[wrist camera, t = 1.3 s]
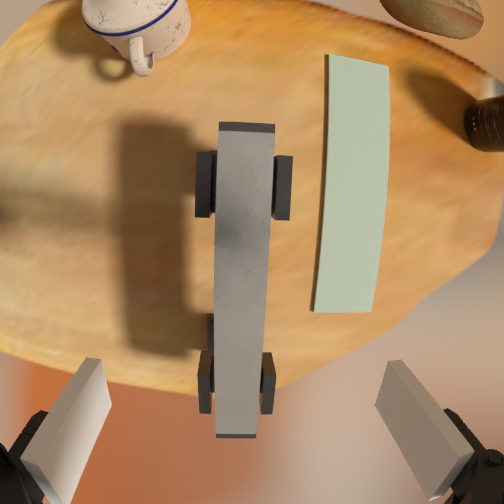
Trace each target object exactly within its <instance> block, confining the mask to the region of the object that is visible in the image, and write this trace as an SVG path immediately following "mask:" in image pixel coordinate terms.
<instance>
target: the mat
mask: <svg viewBox="0 0 504 504" xmlns="http://www.w3.org/2000/svg"><path fill="white" fill-rule="evenodd" d="M389 146H390V82H389V67H388V66H384V65H380V64H376V63H372V62H368V61H363V60H358V59H354V58H349V57H343V56H338V55H332V54H329V55H328V126H327V152H326V173H325V190H324V204H323V218H322V230H321V242H320V253H319V263H318V273H317V282H316V291H315V300H314V308H313V312H314V313H348V312H371V311H372V305H373V300H374V294H375V288H376V282H377V275H378V269H379V262H380V254H381V247H382V239H383V230H384V220H385V210H386V199H387V186H388V169H389Z"/></svg>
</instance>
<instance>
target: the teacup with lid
mask: <svg viewBox="0 0 504 504" xmlns="http://www.w3.org/2000/svg"><path fill="white" fill-rule="evenodd" d="M82 16H83V20H84V22H85V24H86V25H87V26H88V28H90V29H91V30H92V31H94V32H95V33H98V34H100V35H101V36H102V37H103V38H104V39H105V40H106V41H107V42H108V43H109V44H110V45H111V46H112V47H113V48H114V49H115V50H116V51H117V52H118V53H119V54H120V55H121V56H122V57H124V58H125V59H127V60H130V62H131V65H132V68H133V71H134V72H135V74H136V75H137V76H139V77H145V76H148V75H150V74H151V73H152V72H153V69H154V61H157V60H160V59H162V58H165V57H167V56H168V55H170V54H172V53H173V52H174V51H176V50H177V49H178V48H179V47H180V46H181V45H182V44H183V42H184V41H185V40H186V38H187V36H188V34H189V31H190V28H191V17H190V13H189V9H188V6H187V2H186V0H83V1H82Z"/></svg>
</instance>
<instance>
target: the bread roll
mask: <svg viewBox="0 0 504 504" xmlns="http://www.w3.org/2000/svg"><path fill="white" fill-rule="evenodd" d="M380 2H381V3H382V6H383V7H384V8H385V10H386V11H387V12H388V13H389V14H390V15H391V16H392V17H393V18H395V19H396V20H397V21H399V22H401V23H403V24H405V25H407V26H409V27H412V28H414V29H417V30H420V31H424V32H429V33H433V34H436V35H441V36H445V37H449V38H455V39H461V40H462V39H468V38H471V37H473V36H475V35H476V34H477V33H478V32H479V31H480V29H481V27H482V25H483V19H484V17H483V16H482V9H481V7H480V5H479V3H478V1H477V0H380Z"/></svg>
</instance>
